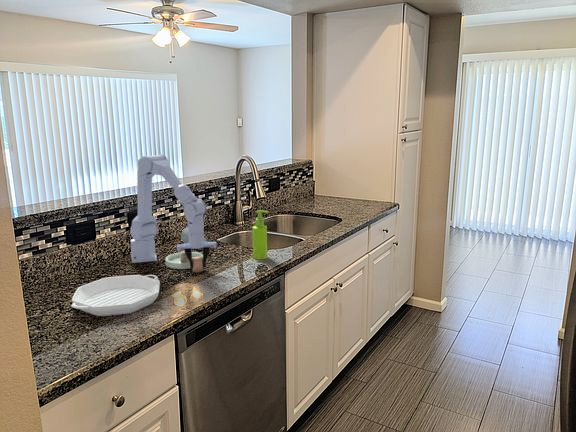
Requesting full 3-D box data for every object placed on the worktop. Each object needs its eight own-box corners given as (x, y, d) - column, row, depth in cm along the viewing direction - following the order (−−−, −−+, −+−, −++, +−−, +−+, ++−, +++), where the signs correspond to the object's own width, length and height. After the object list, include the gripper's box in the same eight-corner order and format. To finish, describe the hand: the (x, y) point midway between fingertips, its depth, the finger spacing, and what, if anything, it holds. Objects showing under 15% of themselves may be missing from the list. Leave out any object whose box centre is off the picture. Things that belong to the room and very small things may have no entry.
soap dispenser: (267, 260, 184) (267, 212, 180) (251, 258, 186) (250, 211, 181) (271, 255, 190) (270, 209, 185) (255, 254, 191) (254, 208, 187)
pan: (130, 279, 163) (130, 268, 162) (182, 293, 150) (182, 281, 149) (49, 310, 137) (47, 297, 136) (103, 331, 124) (102, 316, 123)
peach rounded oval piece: (193, 272, 169) (192, 260, 168) (192, 269, 173) (191, 256, 172) (203, 271, 170) (203, 259, 169) (202, 268, 174) (202, 256, 173)
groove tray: (166, 270, 172) (166, 265, 171) (165, 258, 186) (165, 253, 185) (206, 266, 176) (205, 261, 176) (202, 255, 190) (201, 250, 190)
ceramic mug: (191, 248, 201) (190, 231, 199) (180, 244, 206) (180, 228, 204) (210, 243, 208) (210, 227, 207) (199, 240, 214) (199, 224, 212)
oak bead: (181, 266, 175) (180, 254, 174) (180, 263, 178) (179, 251, 177) (191, 265, 176) (190, 253, 175) (190, 262, 180) (190, 250, 178)
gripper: (176, 236, 163) (178, 272, 166) (217, 233, 167) (218, 268, 170) (175, 231, 169) (177, 266, 172) (214, 229, 173) (215, 262, 176)
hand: (197, 266), depth 171 cm, fingers closed on peach rounded oval piece, 4 cm apart
